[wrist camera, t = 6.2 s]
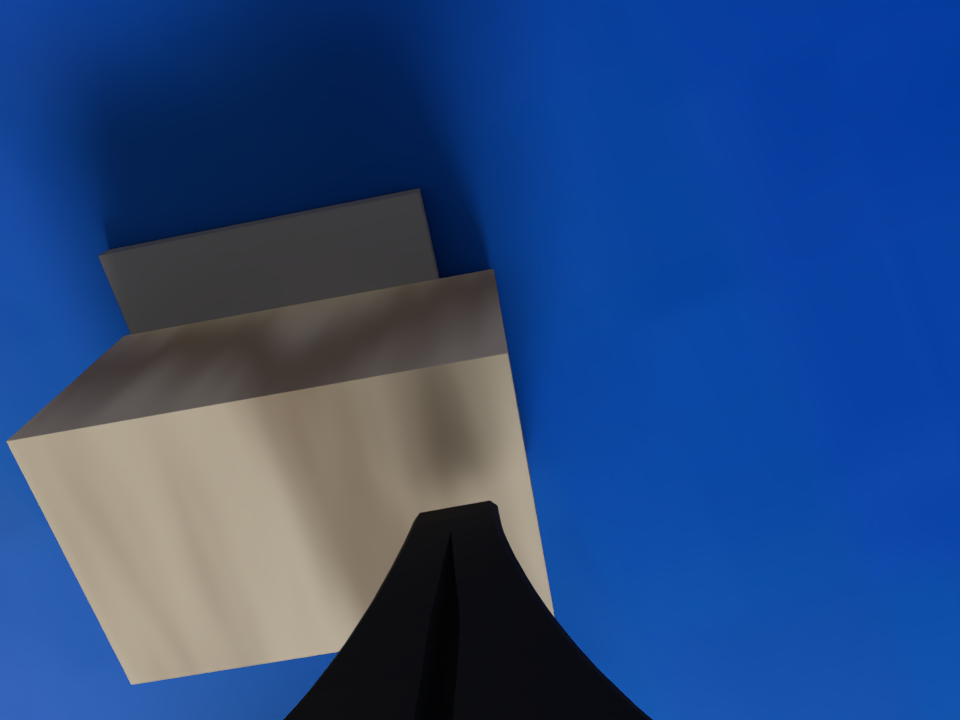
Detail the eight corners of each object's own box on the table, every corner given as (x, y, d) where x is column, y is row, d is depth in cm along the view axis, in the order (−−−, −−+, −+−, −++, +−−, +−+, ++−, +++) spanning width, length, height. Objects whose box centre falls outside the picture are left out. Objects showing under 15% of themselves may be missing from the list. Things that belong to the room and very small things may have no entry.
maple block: (507, 353, 12) (6, 441, 13) (554, 617, 15) (131, 684, 15) (493, 268, 17) (123, 335, 17) (531, 481, 19) (206, 536, 20)
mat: (420, 187, 17) (418, 192, 16) (496, 535, 21) (497, 546, 20) (107, 249, 17) (98, 256, 17) (242, 579, 21) (237, 591, 21)
